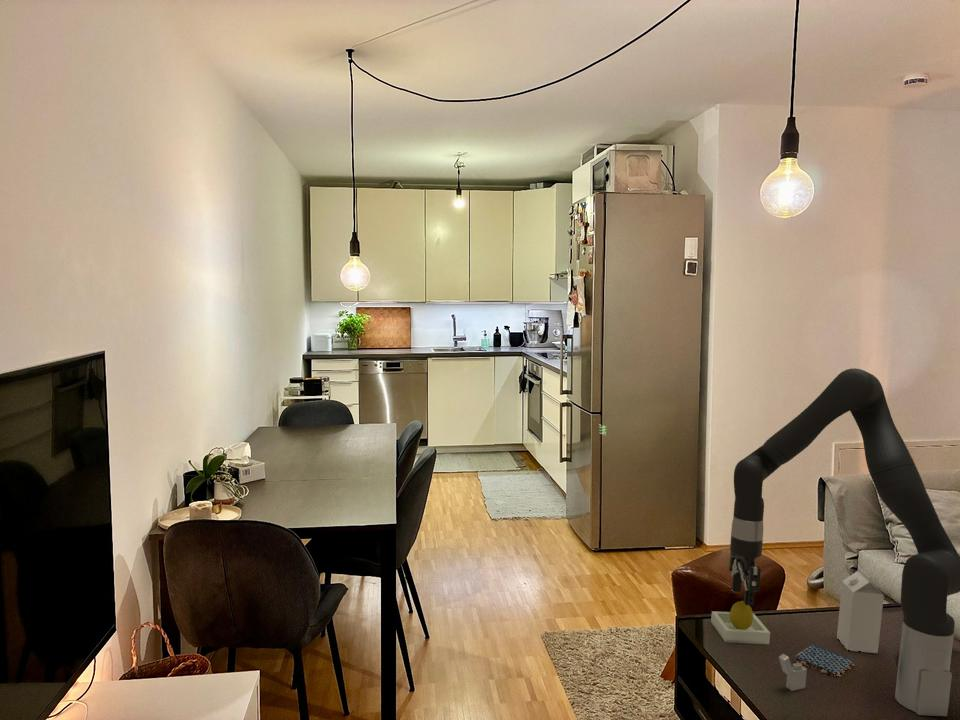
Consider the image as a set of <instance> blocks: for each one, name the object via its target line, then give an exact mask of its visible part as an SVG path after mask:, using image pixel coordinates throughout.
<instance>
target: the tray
mask: <svg viewBox="0 0 960 720" xmlns="http://www.w3.org/2000/svg"><path fill="white" fill-rule="evenodd" d="M710 617H711V619H710V623H711V624H712V626H713V627H714V629H715V630H716V632H717V633H718V634H719V636H720V637H721V639H722V640H723V641H724V643H732V644H734V643H735V644H751V645H752V644H754V645H755V644H756V645H770V643H771V642H770V640H771V631H770V630H769V629H768V628H767V627H766V626H765V625H764V624H763V622H762V621H761V620H760V619H759V618H758V616H757V615H756V614H755V613H754V612H753V622H752V624H751V626H750V627H749V628H748V629H746V630H740V629H737V628H735V627H734V626H733V625H732V623H731V621H730V611H712V610H711V616H710Z"/></svg>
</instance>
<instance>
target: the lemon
mask: <svg viewBox="0 0 960 720" xmlns="http://www.w3.org/2000/svg"><path fill="white" fill-rule="evenodd" d="M729 612H730V621H731V623H732V625H733V626H734V627H735V628H737V629H740V630H746V629H748V628H749V627H750V626H751V624H752V622H753V613H754V612H753V610H752V607H751V605H745V604H744V600H741V601H736V602H735V603H733V604H732V606H731V608H730V611H729Z"/></svg>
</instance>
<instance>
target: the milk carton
mask: <svg viewBox="0 0 960 720" xmlns="http://www.w3.org/2000/svg"><path fill="white" fill-rule="evenodd" d="M871 579H872V578H871V576H869V574H867V572H865V571H864V570H862V568H861V567H859V566H857V570H856V571H855V572H854V573H852V574H850V575H849V576H848V577H846V578H844V579H843V580H842V581H841V590H840V591H841V593H840V601H839V610H838V611H839V612H838V620H837V621H838V623H837V631H836V633H837V634H836V638H837V640H838V639H839V640H840V641H839V640H838V641H839V642H840V643H841V644H842V646H843V645H844V646H843V647H844V648H845V649H846V651H848V650H850V652H858V651H861V652H860V653H870V654H871V653H872V654H878V653H879V643H880V635H881V625H882V615H883V605H884V596H885V594H883V592H882V591H880V590H879V589H878V588H877V586H875V585H874V584H873V583H872V582H871Z"/></svg>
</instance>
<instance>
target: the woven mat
mask: <svg viewBox="0 0 960 720" xmlns="http://www.w3.org/2000/svg"><path fill="white" fill-rule="evenodd" d="M794 658H795V659H794V661H796V662H795V663H800V664H802V666H804V665H805V666H804V667H806V666H809V667H811V668H816V669H817V670H819V671H821V672H822V674H823V673H826V674H829V673H830V676H829V677H831V676H834V677H836V676H837V677H838V676H839V677H838V678H840V677H842V676H841V675H844V674H845V673H846V671H845V670H847V671H848V669H849V670H851V668H852V669H853V667H852V666H854V667H855V663H854V660H853V659H850V658H851V657H850V656H847V657H844V655H843V654H837V652H835V651H830V650H829V649H824V647H823V646H820V647H819V646H816V643H814V644H811V645H809V647H806V648H805V649H803V650H801V652H798V653H797V654H796V655H795V657H794ZM798 660H799V661H798ZM808 664H809V665H808ZM850 665H851V666H850ZM809 667H808V668H809ZM850 667H851V668H850ZM811 668H810V669H811ZM819 668H820V669H819ZM847 668H848V669H847ZM827 670H828V671H827ZM821 672H820V673H821ZM844 672H845V673H844ZM840 673H843V674H841V675H840ZM826 674H825V675H826ZM833 674H834V675H833Z"/></svg>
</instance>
